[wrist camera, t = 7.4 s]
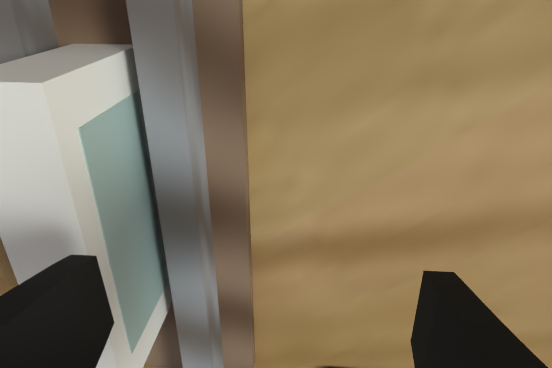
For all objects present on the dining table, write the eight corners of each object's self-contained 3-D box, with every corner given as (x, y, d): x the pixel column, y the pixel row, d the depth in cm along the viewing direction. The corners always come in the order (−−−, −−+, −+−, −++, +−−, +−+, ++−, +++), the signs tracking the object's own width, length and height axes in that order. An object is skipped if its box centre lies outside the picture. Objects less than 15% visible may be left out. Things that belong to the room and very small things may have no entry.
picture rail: (255, 359, 24) (246, 408, 21) (91, 346, 25) (63, 391, 22) (238, -93, 14) (219, -110, 11) (-39, -89, 15) (-119, -103, 12)
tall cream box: (177, 292, 21) (127, 403, 15) (126, 289, 21) (59, 397, 16) (141, 44, 15) (44, 82, 10) (71, 43, 15) (-61, 80, 10)
